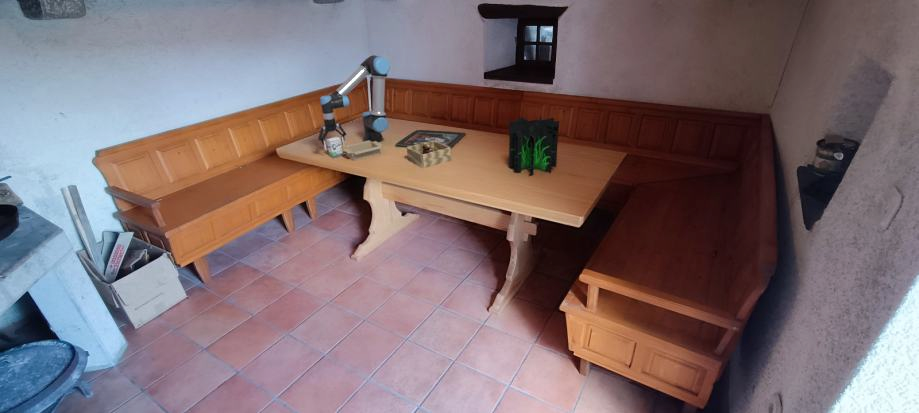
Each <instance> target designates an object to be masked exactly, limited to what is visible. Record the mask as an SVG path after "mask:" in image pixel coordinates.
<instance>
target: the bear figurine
mask: <svg viewBox="0 0 919 413" xmlns="http://www.w3.org/2000/svg"><path fill="white" fill-rule="evenodd" d="M422 148H423V154H426V153H430V152H434V150H433V149H432V148H431V147H430V145H427V144H424V143H423V146H422Z"/></svg>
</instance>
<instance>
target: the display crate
mask: <svg viewBox="0 0 919 413" xmlns="http://www.w3.org/2000/svg"><path fill="white" fill-rule="evenodd" d="M424 144H427V145H430V147H431V148H432V149H433V150H434V152H430V153H426V154H423V148H422V146H423V143H421V144H417V145H413V146H409V147H406V153H407V155H406V156H407V161H409V163H410V162H411V163H412V164H414V165H416V166H418V167H420V168H423V169H425V168H429V167H434V166H437V165H440V164H444V163H447V162H451V161H452V154H451V153H452V152H451V149H452V147H451V148H450V147H449V146H446V145H444V144H442V143H440V142H437V141H434V140H433V141H429V142H425V143H424Z"/></svg>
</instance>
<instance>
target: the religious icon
mask: <svg viewBox="0 0 919 413" xmlns="http://www.w3.org/2000/svg"><path fill="white" fill-rule="evenodd" d="M466 135H467V133H466V132H459V131H449V130H445V131H444V130H430V129H416V130H415V131H413V132H411V133H410V134H408V135H406V136H405V137H404V138H402V139H400V140H399V141H398V142H396V143H395V147H396V148H407V147H409V146H413V145H417V144H421V143H425V142H429V141H433V140H434V141H437V142H440V143H442V144H444V145H446V146H449V147H450V148H451V149H452V148H453V147H454V146H455V145H456V144H459V142H460V141H461V140H462V139H463V138H464V137H465V136H466Z"/></svg>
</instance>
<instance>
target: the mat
mask: <svg viewBox="0 0 919 413" xmlns="http://www.w3.org/2000/svg"><path fill="white" fill-rule="evenodd" d="M326 154H327V156H329V157H331V159H337V158H340V157H344V156H345V154H344V153H343V152H342V153H341V154H338V155H335V156H331V155H329V152H327V153H326Z"/></svg>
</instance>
